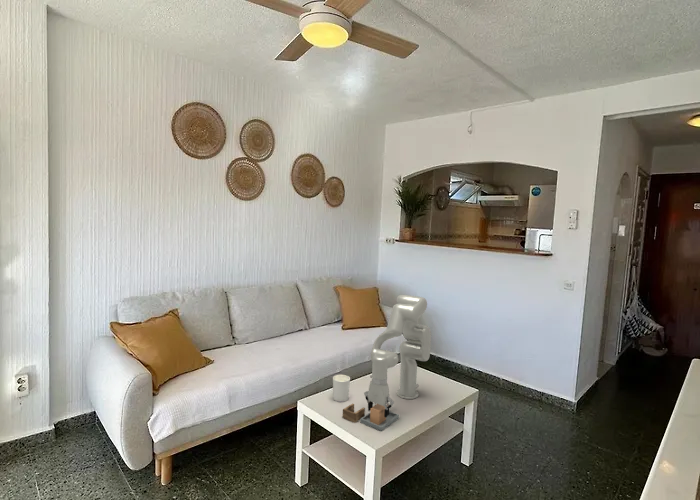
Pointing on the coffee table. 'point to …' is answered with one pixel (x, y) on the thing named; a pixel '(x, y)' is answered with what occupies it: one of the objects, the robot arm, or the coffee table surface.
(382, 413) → the peach slab with tab
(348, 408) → the frame
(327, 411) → the coffee table surface
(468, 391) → the coffee table surface
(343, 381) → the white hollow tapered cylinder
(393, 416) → the tray
